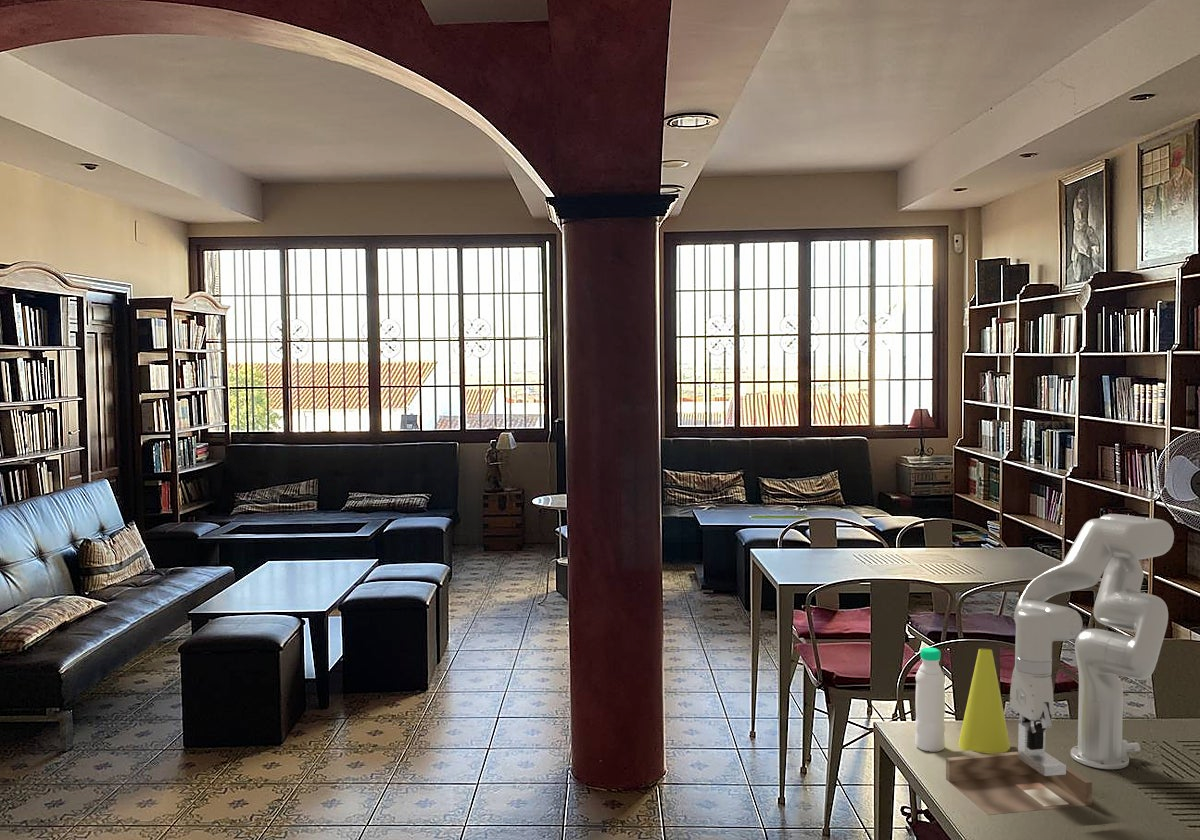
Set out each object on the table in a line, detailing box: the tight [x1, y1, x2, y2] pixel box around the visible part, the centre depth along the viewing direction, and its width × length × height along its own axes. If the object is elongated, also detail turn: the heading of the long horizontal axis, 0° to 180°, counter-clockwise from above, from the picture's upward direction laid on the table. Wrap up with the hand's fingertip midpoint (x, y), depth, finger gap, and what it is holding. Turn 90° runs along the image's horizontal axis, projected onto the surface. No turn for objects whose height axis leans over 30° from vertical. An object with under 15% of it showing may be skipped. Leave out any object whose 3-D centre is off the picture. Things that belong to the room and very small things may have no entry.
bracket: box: [1017, 722, 1066, 776], centre depth 219 cm, size 10×5×8 cm, turn 9°
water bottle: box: [914, 646, 946, 753], centre depth 249 cm, size 7×7×25 cm
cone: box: [957, 648, 1011, 754], centre depth 248 cm, size 12×12×25 cm
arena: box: [945, 751, 1093, 816], centre depth 222 cm, size 24×18×6 cm
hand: (1031, 745), depth 223 cm, fingers closed on bracket, 2 cm apart
